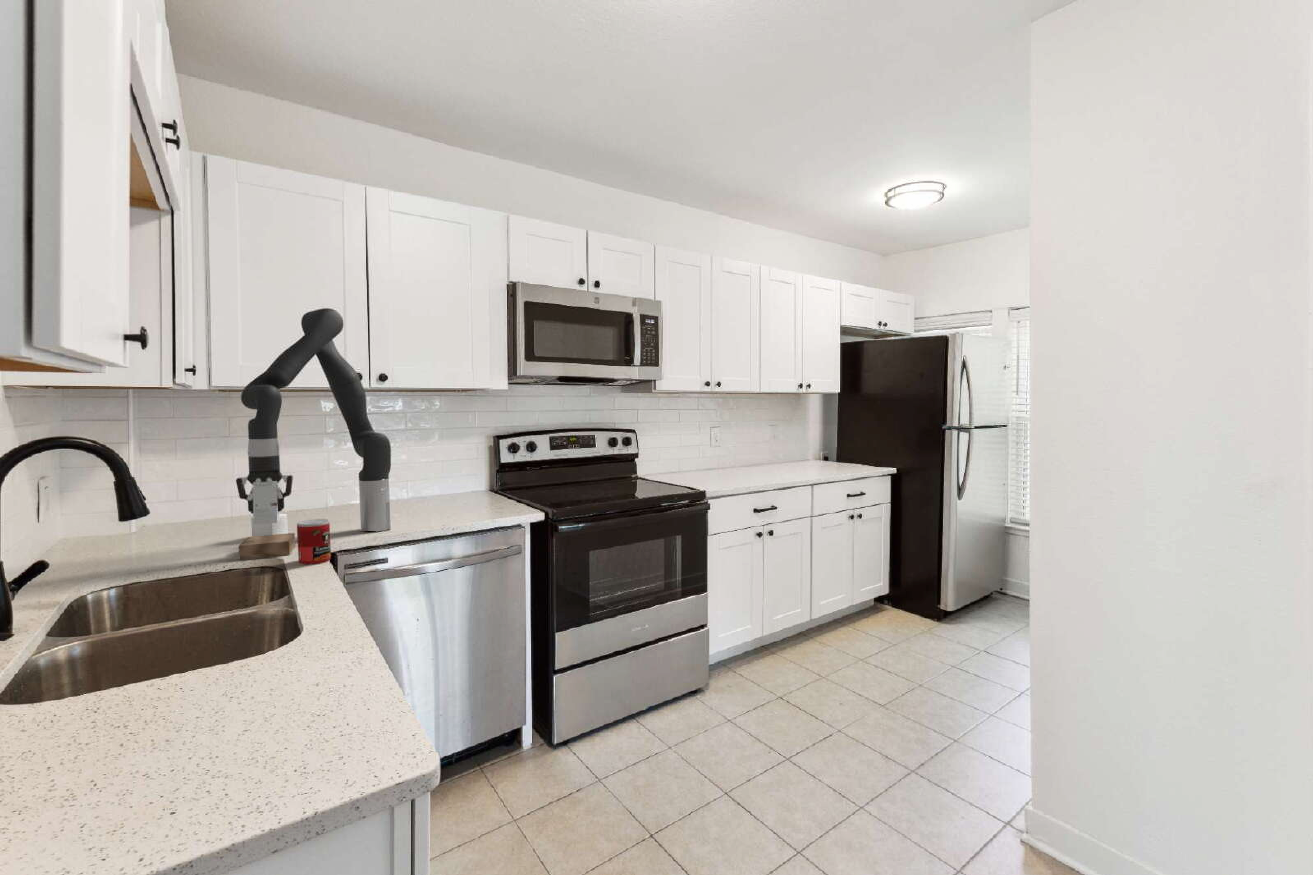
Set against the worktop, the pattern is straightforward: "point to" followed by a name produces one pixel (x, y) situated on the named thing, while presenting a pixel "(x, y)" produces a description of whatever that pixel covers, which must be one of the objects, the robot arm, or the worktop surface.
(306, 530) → the canned food
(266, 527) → the medicine bottle
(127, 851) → the worktop surface
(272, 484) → the skincare box
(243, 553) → the walnut base
